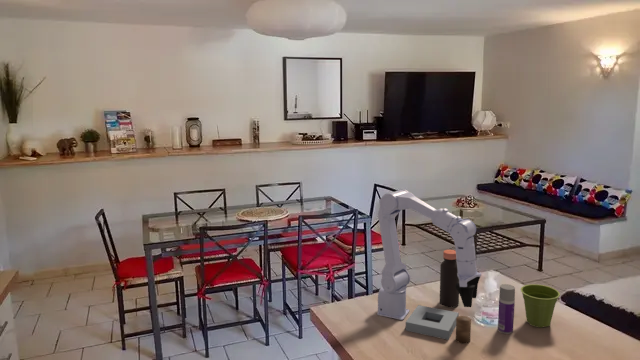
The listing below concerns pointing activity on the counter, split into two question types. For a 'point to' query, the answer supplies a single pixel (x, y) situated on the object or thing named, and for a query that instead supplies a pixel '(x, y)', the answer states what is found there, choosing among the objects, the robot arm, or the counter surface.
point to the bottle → (449, 280)
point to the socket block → (432, 322)
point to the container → (506, 309)
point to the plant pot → (539, 303)
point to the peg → (463, 329)
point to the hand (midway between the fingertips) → (470, 302)
